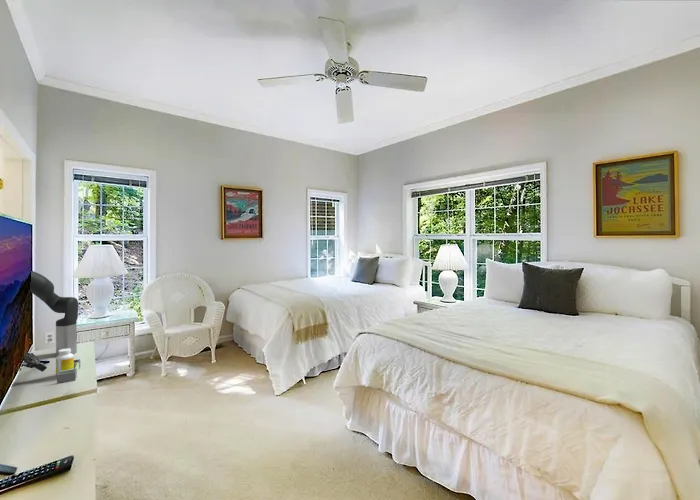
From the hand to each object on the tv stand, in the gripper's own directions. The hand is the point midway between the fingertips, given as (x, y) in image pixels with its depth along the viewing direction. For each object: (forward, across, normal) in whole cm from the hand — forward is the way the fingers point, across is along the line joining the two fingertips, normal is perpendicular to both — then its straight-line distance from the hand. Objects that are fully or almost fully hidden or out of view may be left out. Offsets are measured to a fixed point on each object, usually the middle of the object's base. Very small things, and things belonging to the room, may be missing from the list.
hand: (44, 369), depth 158 cm
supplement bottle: (+8, 0, -2) cm, 9 cm away
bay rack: (+10, 0, -3) cm, 10 cm away
